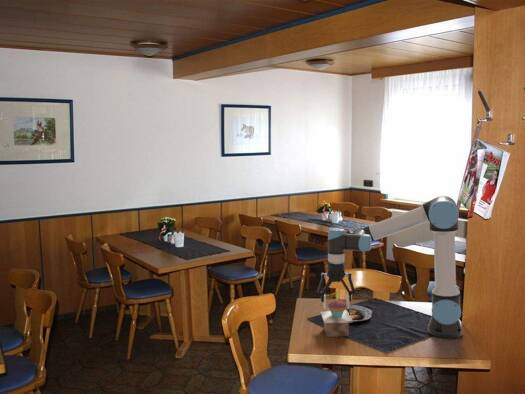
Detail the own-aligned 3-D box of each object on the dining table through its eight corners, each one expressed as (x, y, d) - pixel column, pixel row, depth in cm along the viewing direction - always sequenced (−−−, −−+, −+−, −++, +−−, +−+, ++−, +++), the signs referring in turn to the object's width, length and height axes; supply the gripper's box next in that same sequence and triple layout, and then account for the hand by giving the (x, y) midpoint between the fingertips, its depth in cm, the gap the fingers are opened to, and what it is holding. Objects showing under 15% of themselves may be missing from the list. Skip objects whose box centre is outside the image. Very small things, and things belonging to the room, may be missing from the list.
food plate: (369, 326, 251) (369, 319, 251) (321, 323, 257) (321, 316, 257) (373, 310, 275) (373, 304, 275) (329, 307, 281) (329, 301, 281)
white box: (347, 326, 252) (347, 310, 251) (352, 337, 239) (352, 320, 238) (320, 327, 251) (320, 311, 250) (324, 338, 238) (324, 321, 237)
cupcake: (326, 313, 248) (326, 288, 246) (343, 312, 249) (343, 287, 247) (330, 319, 239) (330, 294, 238) (348, 318, 240) (349, 293, 239)
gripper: (358, 259, 245) (358, 304, 248) (310, 260, 244) (310, 306, 247) (362, 263, 237) (362, 310, 240) (312, 264, 237) (312, 311, 239)
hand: (336, 308), depth 244 cm, fingers open, 10 cm apart
